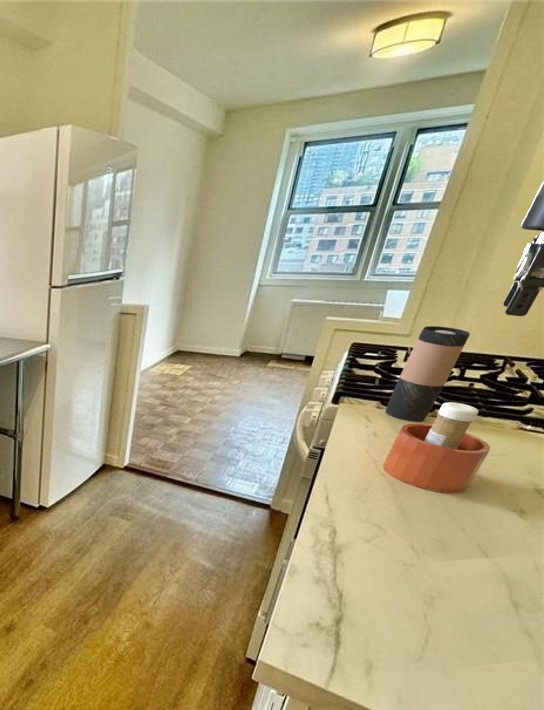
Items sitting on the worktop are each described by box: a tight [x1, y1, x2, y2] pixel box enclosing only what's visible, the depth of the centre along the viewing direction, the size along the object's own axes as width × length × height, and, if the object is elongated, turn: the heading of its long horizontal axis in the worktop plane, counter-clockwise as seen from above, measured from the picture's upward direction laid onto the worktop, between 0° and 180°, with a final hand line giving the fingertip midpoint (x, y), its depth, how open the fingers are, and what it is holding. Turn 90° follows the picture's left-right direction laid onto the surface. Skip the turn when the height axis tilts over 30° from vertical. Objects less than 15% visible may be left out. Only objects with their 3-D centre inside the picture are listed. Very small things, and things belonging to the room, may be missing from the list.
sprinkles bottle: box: [424, 401, 479, 450], centre depth 86 cm, size 5×5×14 cm
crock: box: [382, 423, 491, 494], centre depth 87 cm, size 12×12×8 cm
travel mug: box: [385, 325, 471, 422], centre depth 108 cm, size 8×8×20 cm
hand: (512, 310), depth 75 cm, fingers open, 8 cm apart
